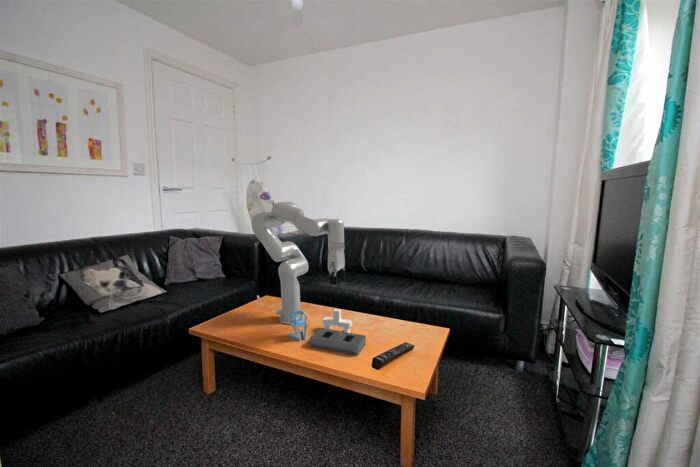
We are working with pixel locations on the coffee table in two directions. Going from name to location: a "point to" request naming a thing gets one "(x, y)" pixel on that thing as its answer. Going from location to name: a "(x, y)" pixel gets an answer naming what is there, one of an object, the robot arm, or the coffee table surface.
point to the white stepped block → (337, 321)
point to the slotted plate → (338, 341)
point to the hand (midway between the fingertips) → (337, 281)
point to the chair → (298, 325)
